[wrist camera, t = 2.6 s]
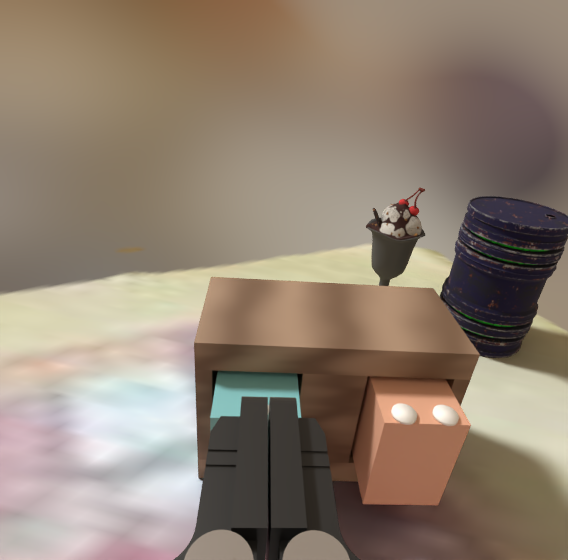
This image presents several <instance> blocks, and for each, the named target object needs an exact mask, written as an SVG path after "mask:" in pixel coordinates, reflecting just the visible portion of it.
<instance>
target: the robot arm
mask: <svg viewBox="0 0 568 560" xmlns="http://www.w3.org/2000/svg"><path fill="white" fill-rule="evenodd" d="M265 555H266V560H360V559H359V558H357V557H356V556H355V555H354V554H353V553H352V552H351V551H350V549H349V548H348V547H347V545H346V544H345V542H344V540H343V538H342V535H341V533H340V529H339V523H338V516H337V510H336V503H335V497H334V490H333V483H332V477H331V470H330V463H329V457H328V450H327V444H326V437H325V433H324V431H323V430H322V428H321V427H320V425H319V423H318V422H317V420H316V419H315V418H298V411H297V400H296V398H290V397H270V400H269V414H268V397H248V396H242V398H241V409H240V416H221V417H220V418H219V420H218V421H217V423H216V424H215V426H214V427H213V429H212V430H211V432H210V439H209V445H208V453H207V458H206V466H205V471H204V478H203V484H202V491H201V497H200V504H199V510H198V516H197V523H196V528H195V532H194V535H193V537H192V539H191V541H190V543H189V545H188V546H187V547H186V549H185V550H184V551H183V552H182V553H181V554H180V555H179V556H178V557H177V558H175V559H174V560H265Z"/></svg>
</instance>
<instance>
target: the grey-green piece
mask: <svg viewBox="0 0 568 560" xmlns="http://www.w3.org/2000/svg"><path fill="white" fill-rule="evenodd" d="M242 396H248V397H268V414H269V400H270V397H290V398H296V400H297V411H298V418H301V410H300V399H299V388H298V377H297V373H272V372H245V371H218V372H217V379H216V385H215V391H214V397H213V404H212V410H211V416H210V432H211V430H212V429H213V427H214V426H215V424H216V423H217V421H218V420H219V418H220V417H221V416H240V409H241V398H242Z"/></svg>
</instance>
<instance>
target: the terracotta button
mask: <svg viewBox="0 0 568 560" xmlns="http://www.w3.org/2000/svg"><path fill="white" fill-rule="evenodd" d="M470 426H471V425H470V423H469V421H468V419H467V417H466V416H465V414H464V412H463V410H462V408H461V406H460V405H459V403H458V401H457V399H456V397H455V395H454V394H453V392H452V390H451V388H450V386H449V384H448V383H447V381H446V379H433V378H406V377H379V376H368V378H367V382H366V387H365V391H364V395H363V400H362V404H361V409H360V413H359V418H358V422H357V426H356V431H355V435H354V440H353V444H352V449H351V451H352V455H353V460H354V465H355V470H356V474H357V479H358V484H359V489H360V493H361V498H362V503H363V504H389V505H438V504H439V502H440V499H441V497H442V495H443V492H444V490H445V487H446V485H447V482H448V480H449V477H450V475H451V473H452V470H453V468H454V465H455V463H456V460H457V458H458V456H459V453H460V451H461V448H462V446H463V443H464V441H465V438H466V436H467V434H468V431H469V429H470Z"/></svg>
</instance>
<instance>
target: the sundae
mask: <svg viewBox="0 0 568 560" xmlns="http://www.w3.org/2000/svg"><path fill="white" fill-rule="evenodd" d="M418 191H421V192H423V191H425V189H422V188H419V190H418ZM418 191H417V192H418ZM417 192H416V193H417ZM421 192H420V193H421ZM416 193H415V194H416ZM420 193H419V194H420ZM415 194H414V195H415ZM419 194H418V196H419ZM414 195H412V196H411V197H413V196H414ZM418 196H417V197H418ZM411 197H409V198H408V199H410V198H411ZM417 197H416V199H415V204H414V206H411V207H408V205H409V203H408V201H407V200H408V199H406V200H405V199H402V200H400V201H399V203H397V204H391V205H390V206H388V207H387V208H386V209H385V210H384V211H383V213H382V216H381V218H379V216H378V213H377V211H376V209H375V208H373V212H374V215H375V219H372V220H371V221H370V222H369V223H368V224H367V225H366V228H368V229H369V230H371V231H372V235H373V236H372V237H373V243H372V268H373V269H374V271H375V272H376V273H377V274H378V275H379V277H380V282H379V286H389V282H390V279H392V278H395V277H397V276H399V275H400V274H402V273H403V272H404V270H405V268H406V266H407V264H408V261H409V259H410V256H411V254H412V251H413V249H414V246H415V244H416V242H417V240H418V239H419V238H420V237H423V236H425V233H424V231H423V230H422V226H421V222H420V220H419V218H418V217H417V216H416V215H417V214H418V213H419V209H418V208H417V207H416V200H417Z"/></svg>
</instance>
